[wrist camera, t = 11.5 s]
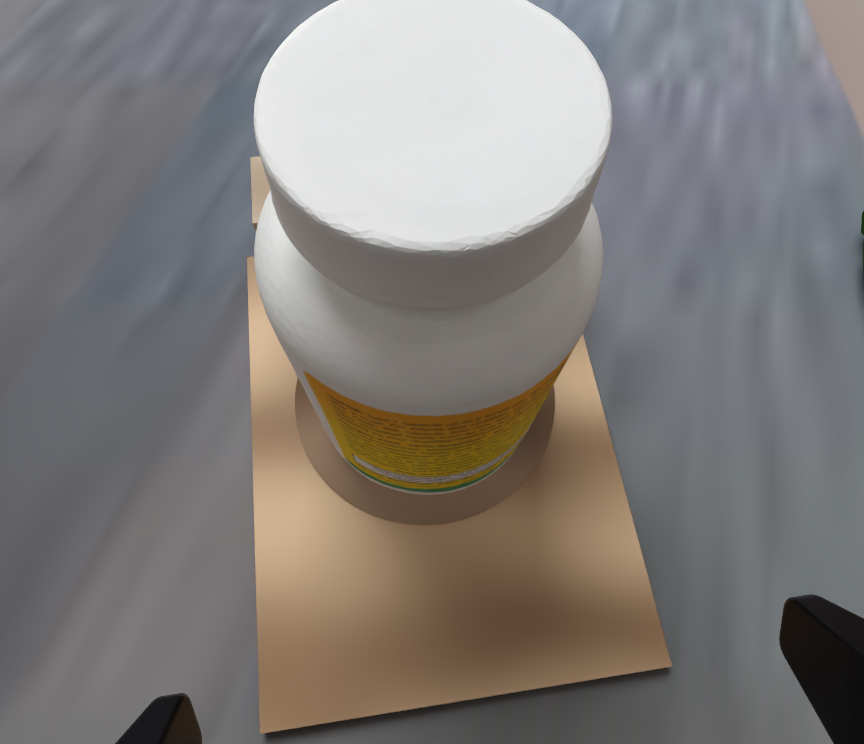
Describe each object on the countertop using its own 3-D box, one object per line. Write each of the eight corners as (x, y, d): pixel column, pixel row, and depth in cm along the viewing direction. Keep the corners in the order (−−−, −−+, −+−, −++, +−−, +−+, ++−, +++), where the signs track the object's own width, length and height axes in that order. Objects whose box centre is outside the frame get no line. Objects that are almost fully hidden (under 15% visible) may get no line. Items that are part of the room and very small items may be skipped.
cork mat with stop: (667, 665, 18) (758, 680, 13) (263, 731, 17) (196, 774, 12) (550, 225, 24) (581, 121, 19) (249, 261, 23) (201, 162, 18)
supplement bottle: (284, 372, 21) (100, 48, 9) (450, 271, 23) (477, -114, 11) (400, 547, 19) (356, 417, 7) (574, 421, 20) (781, 141, 9)
